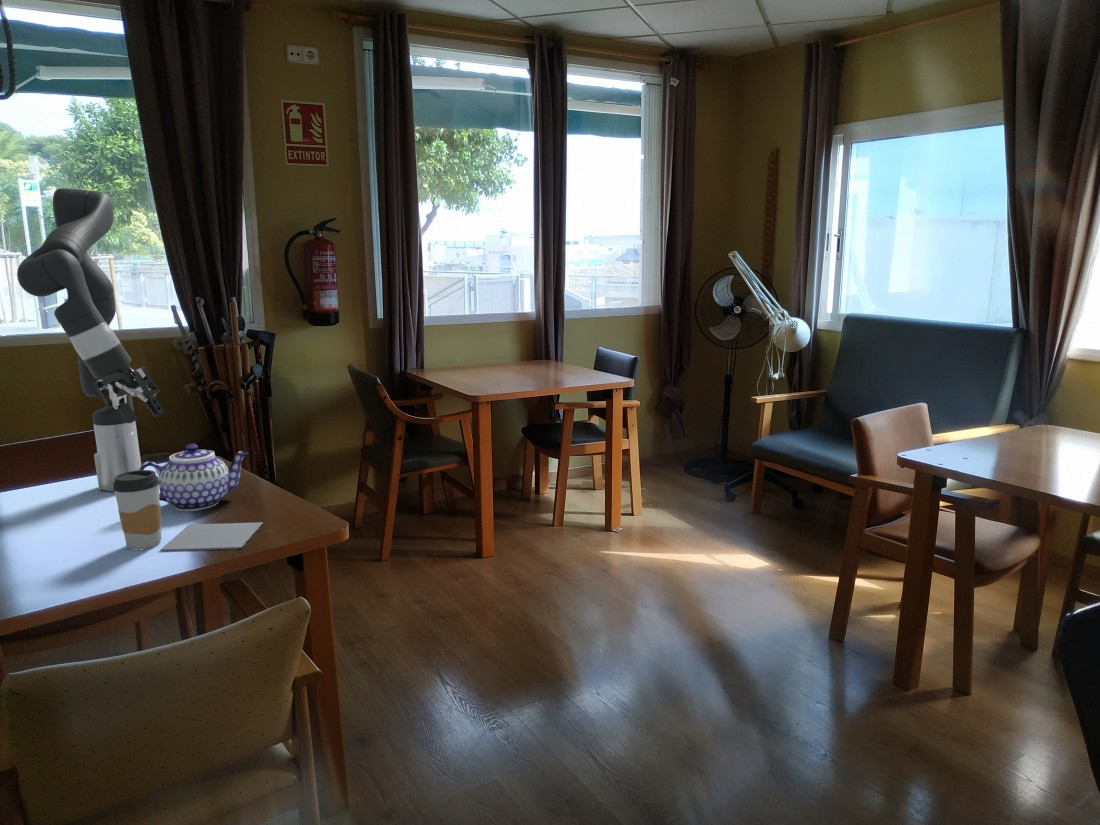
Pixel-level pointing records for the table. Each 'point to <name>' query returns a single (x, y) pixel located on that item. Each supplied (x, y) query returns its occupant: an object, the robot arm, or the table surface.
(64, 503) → the table surface
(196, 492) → the teapot
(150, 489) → the coffee cup
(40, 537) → the table surface
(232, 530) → the mat
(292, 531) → the table surface
